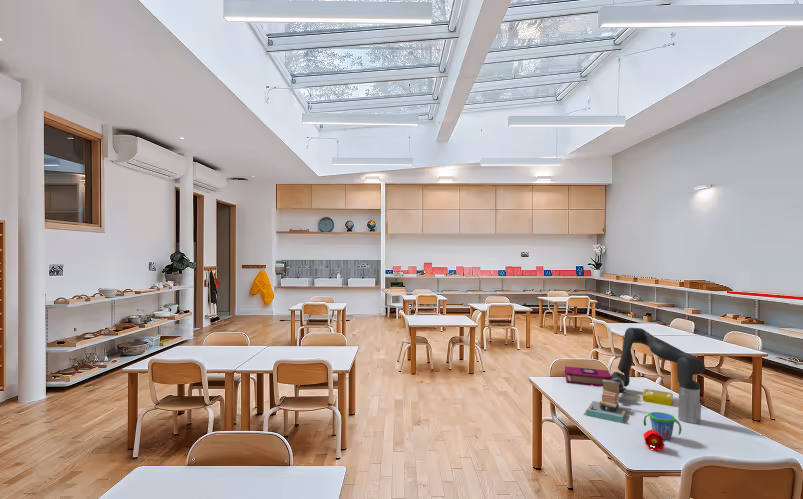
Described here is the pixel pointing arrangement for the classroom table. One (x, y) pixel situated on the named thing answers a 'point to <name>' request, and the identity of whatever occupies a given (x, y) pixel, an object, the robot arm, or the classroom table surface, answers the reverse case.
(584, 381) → the book
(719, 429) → the classroom table surface
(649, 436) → the flower
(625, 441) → the classroom table surface
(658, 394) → the element tile
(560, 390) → the classroom table surface
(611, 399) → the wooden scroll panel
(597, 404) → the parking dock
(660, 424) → the snack cup
